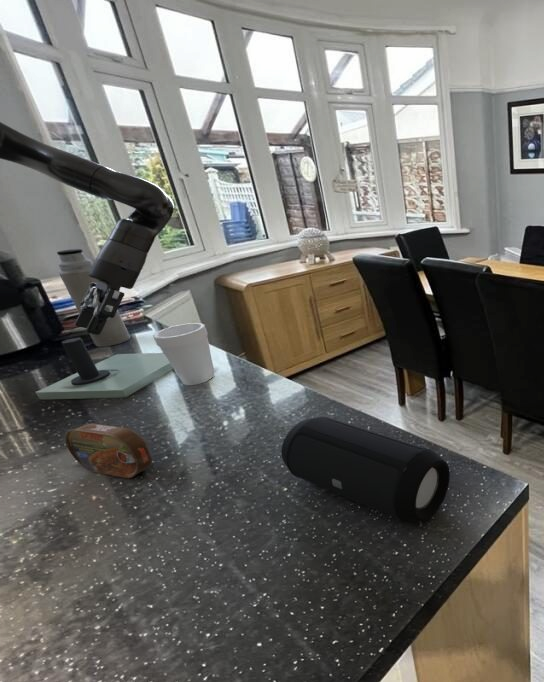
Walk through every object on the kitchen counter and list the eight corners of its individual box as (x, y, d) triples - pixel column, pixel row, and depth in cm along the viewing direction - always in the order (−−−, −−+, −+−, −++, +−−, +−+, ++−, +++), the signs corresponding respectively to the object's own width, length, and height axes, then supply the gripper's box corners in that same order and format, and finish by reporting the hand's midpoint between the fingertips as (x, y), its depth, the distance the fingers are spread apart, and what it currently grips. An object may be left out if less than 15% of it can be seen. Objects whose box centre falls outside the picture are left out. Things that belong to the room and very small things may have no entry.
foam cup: (167, 391, 91) (144, 340, 86) (185, 373, 99) (165, 325, 94) (214, 384, 93) (194, 334, 88) (227, 367, 102) (210, 320, 96)
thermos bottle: (97, 341, 121) (51, 250, 110) (131, 334, 126) (90, 246, 115) (94, 349, 116) (45, 254, 104) (129, 341, 120) (86, 249, 109)
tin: (77, 469, 67) (52, 428, 64) (99, 457, 70) (76, 417, 67) (143, 482, 64) (121, 440, 60) (163, 469, 67) (143, 428, 63)
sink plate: (39, 399, 89) (35, 392, 89) (119, 360, 108) (116, 354, 107) (125, 397, 89) (122, 389, 88) (191, 358, 108) (189, 351, 107)
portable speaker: (285, 487, 62) (267, 435, 58) (335, 449, 70) (323, 401, 66) (415, 545, 52) (404, 487, 47) (456, 493, 60) (450, 439, 56)
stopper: (67, 392, 92) (41, 346, 87) (95, 379, 98) (71, 335, 93) (95, 392, 92) (70, 345, 87) (121, 378, 98) (99, 334, 93)
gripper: (87, 254, 91) (54, 319, 88) (108, 259, 83) (71, 330, 81) (129, 268, 97) (98, 330, 94) (151, 274, 90) (119, 340, 87)
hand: (86, 330), depth 88 cm, fingers open, 8 cm apart
